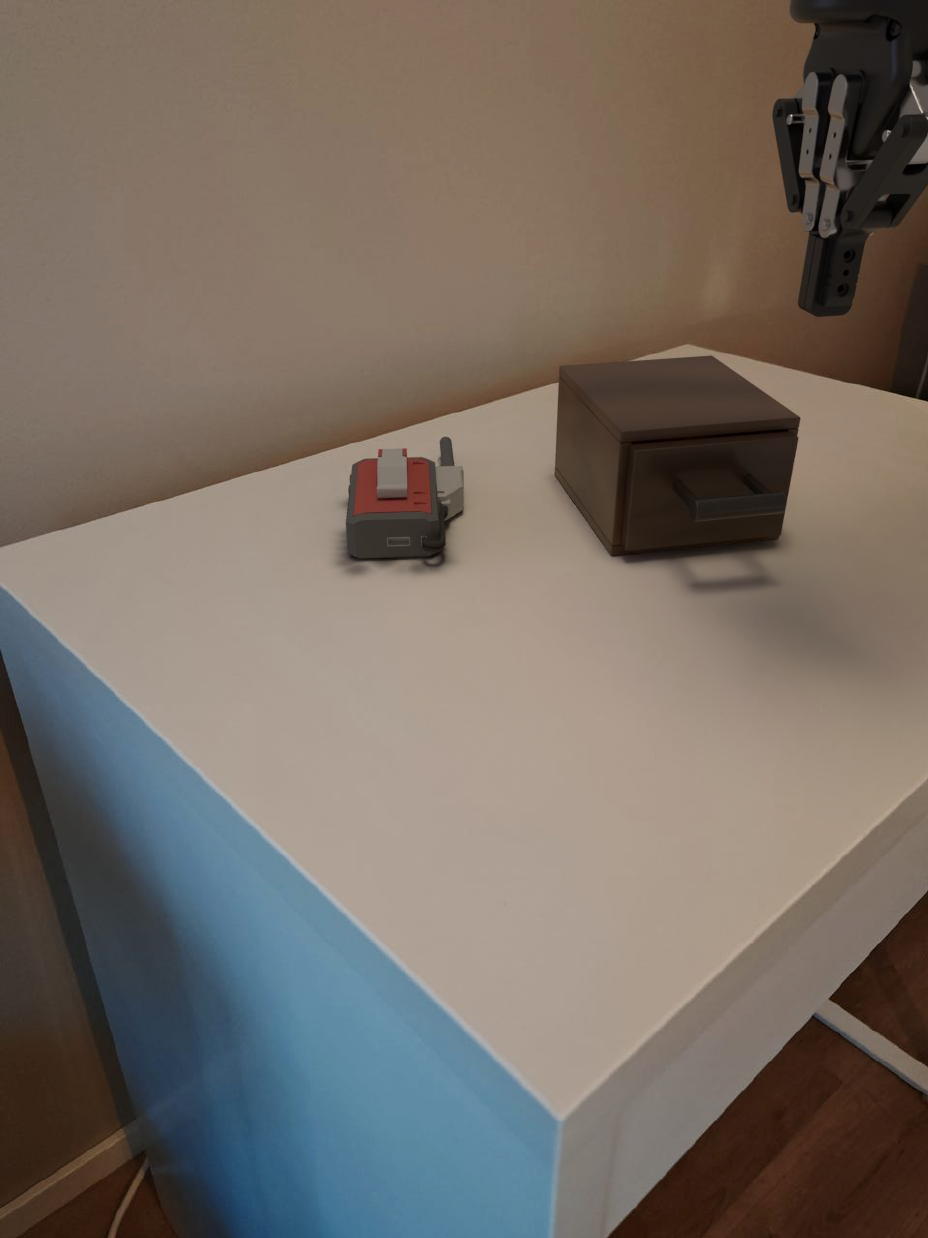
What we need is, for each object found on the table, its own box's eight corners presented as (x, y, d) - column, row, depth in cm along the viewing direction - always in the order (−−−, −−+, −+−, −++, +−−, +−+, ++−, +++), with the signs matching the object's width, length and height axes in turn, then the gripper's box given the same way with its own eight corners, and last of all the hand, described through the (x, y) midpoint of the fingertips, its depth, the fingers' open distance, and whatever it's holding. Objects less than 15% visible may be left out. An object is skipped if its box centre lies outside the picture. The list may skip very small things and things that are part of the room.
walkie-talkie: (472, 565, 66) (458, 454, 83) (472, 506, 64) (457, 405, 81) (344, 569, 66) (356, 457, 83) (339, 510, 64) (352, 407, 81)
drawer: (813, 565, 64) (834, 462, 60) (649, 583, 62) (660, 478, 58) (704, 463, 79) (715, 375, 75) (569, 474, 77) (574, 385, 73)
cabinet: (779, 539, 69) (801, 417, 64) (611, 556, 67) (621, 431, 62) (698, 462, 81) (712, 354, 77) (554, 474, 79) (559, 365, 75)
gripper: (1096, -132, 35) (970, 343, 44) (892, -94, 46) (824, 280, 55) (910, -135, 34) (819, 353, 43) (746, -95, 45) (701, 287, 54)
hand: (822, 311), depth 49 cm, fingers closed
